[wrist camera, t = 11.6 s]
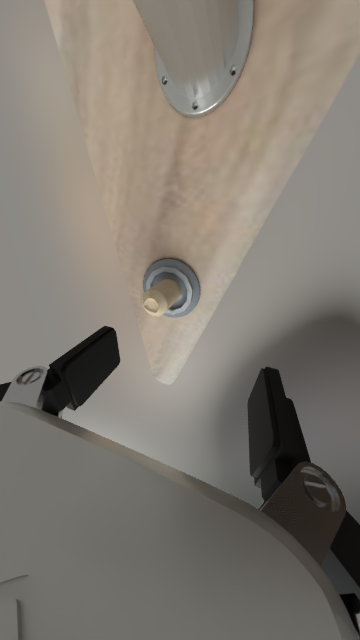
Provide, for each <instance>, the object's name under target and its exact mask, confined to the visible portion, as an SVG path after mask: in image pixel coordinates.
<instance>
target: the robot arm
mask: <svg viewBox="0 0 360 640" xmlns="http://www.w3.org/2000/svg"><path fill="white" fill-rule="evenodd" d="M133 1H134V3H135V6H136V8H137V10H138V12H139V14H140V16H141V18H142V20H143V22H144V25H145V27H146V29H147V31H148V33H149V35H150V37H151V39H152V41H153V44H154V46H155V62H156V69H157V75H158V79H159V82H160V86H161V89H162V91H163V93H164V95H165V97H166V98H167V100H168V102H169V103H170V105H171V106H172V107H173V108H174V109H175V110H176V111H177V112H179V113H180V114H182V115H184V116H187V117H201V116H204V115H207V114H208V113H210V112H212V111H214V110H215V109H216V108H217V107H218V106H219V105H221V104H222V103H223V101H224V100H225V99H226V98H227V97H228V95H229V94H230V93H231V91H232V89H233V88H234V86H235V85H236V83H237V81H238V79H239V77H240V74H241V72H242V70H243V67H244V64H245V61H246V58H247V55H248V51H249V47H250V42H251V37H252V27H253V8H254V4H253V0H133ZM233 73H235V75H233V76H232V74H233ZM196 107H198V108H197V109H196V110H195V108H196ZM119 363H120V356H119V349H118V343H117V336H116V331H115V330H114V328H111V327H108V326H104V327H102V328H101V329H99V330H98V331H97V332H95V333H94V334H92V335H91V336H89V337H88V338H87V339H85V340H84V341H82V342H81V343H80V344H78V345H77V346H75V347H74V348H72V349H71V350H70V351H68V352H67V353H65V354H64V355H62V356H61V357H60V358H58V359H57V360H55V361H54V362H53V363H51V364H50V365H49V366H50V369H48V370H47V369H46V368H45V367H43V366H36V367H32V368H29V369H26V370H24V371H22V372H21V373H19V374H18V375H17V376H16V377H15V378H14V379H13V381H12V382H9V383H5V384H1V385H0V640H360V525H359V524H358V523H357V521H356V520H355V519H354V518H353V517H352V516H351V515H350V514H349V513H348V512H347V510H346V502H345V499H344V496H343V494H342V492H341V490H340V488H339V486H338V485H337V483H336V482H335V481H334V480H333V479H332V478H331V476H330V475H329V474H328V473H327V472H326V471H324V470H323V469H322V468H321V467H319V466H317V465H315V464H314V463H311V461H310V458H309V454H308V451H307V447H306V444H305V441H304V437H303V434H302V430H301V427H300V424H299V420H298V417H297V414H296V410H295V407H294V404H293V401H292V400H291V399H289V398H286V396H285V392H284V389H283V385H282V381H281V377H280V374H279V370H277V369H273V368H270V367H266V368H265V369H261V371H260V373H259V375H258V378H257V380H256V383H255V385H254V387H253V390H252V392H251V395H250V397H249V400H248V429H249V456H250V474H251V476H252V477H254V480H255V481H254V482H255V486H257V487H259V488H261V489H262V497H263V499H264V502H263V503H262V504H261V506H260V507H259V508H258V509H257V508H255V507H253V506H252V505H250V504H248V503H246V502H245V501H243V500H241V499H239V498H237V497H235V496H233V495H231V494H229V493H227V492H225V491H223V490H221V489H218V488H216V487H214V486H212V485H210V484H208V483H206V482H203V481H201V480H199V479H197V478H195V477H193V476H191V475H188V474H186V473H184V472H182V471H179V470H177V469H175V468H173V467H170V466H168V465H166V464H164V463H161V462H159V461H157V460H155V459H152V458H150V457H148V456H146V455H144V454H141V453H139V452H137V451H134V450H132V449H130V448H128V447H125V446H123V445H121V444H119V443H116V442H114V441H112V440H110V439H107V438H105V437H102V436H100V435H98V434H96V433H94V432H91V431H89V430H87V429H84V428H82V427H80V426H77V425H75V424H73V423H71V422H68V421H66V420H63V419H62V415H63V409H64V408H65V407H66V406H67V407H68V408H70V409H72V410H74V411H75V410H76V409H77V408H78V407H79V406H81V405H82V404H83V403H84V402H85V401H86V400H87V399H88V398H89V397H90V396H91V395H92V393H93V392H94V391H95V390H96V389H97V388H98V387H99V386H100V384H102V383H103V381H104V380H105V379H106V378H107V377H108V376H109V375H110V374H111V373H112V371H113V370H114V369H115V368H116V367H117V366H118V365H119Z"/></svg>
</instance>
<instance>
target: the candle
mask: <svg viewBox="0 0 360 640" xmlns="http://www.w3.org/2000/svg"><path fill="white" fill-rule="evenodd" d="M180 294H181V288H180V285H179V284H178V283H177V282H176V281H175V280H173V279H170V278H168V279H164V280H162V281H161V282H159V283H157V284H156V285H154V286H153V287H151V288H150V289H148V290H147V291H145V292H144V293H143V295H142V298H141V302H142V306H143V308H144V309H145V310H146V311H147V312H148V313H149V314H151V315H153V316H161V315H163V314H164V313H165V312H166V311H167V310H168V309H169V308H170V307H171V306H172V305H173V304H174V302H175V301H176V300H177V299H178V298H179V296H180Z"/></svg>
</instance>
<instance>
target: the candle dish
mask: <svg viewBox="0 0 360 640" xmlns="http://www.w3.org/2000/svg"><path fill="white" fill-rule="evenodd" d="M168 278H170V279H173V280H175V281H176V282H177V283H178V284H179V285H180V288H181V294H180V296H179V298H178V299H177V300H176V301H175V302H174V304H173V305H172V306H171V307H170V308H169V309H168V310H167V311H166V312H165V313H164V314H163V315H165V316H168V317H181V316H184V315H187V314H188V313H190V312H191V311H192V310H193V309H194V308H195V306H196V304H197V303H198V300H199V296H200V286H199V282H198V279H197V277H196V275H195V273H194V272H193V271H192V270H191V268H190V267H188V266H187V265H186V264H184V263H183V262H181V261H178V260H175V259H163V260H160V261H157V262H155V263H154V264H152V265H151V266H150V267H149V269H148V270H147V272H146V274H145V277H144V281H143V288H144V292H145V291H147V290H148V289H150V288H151V287H153V286H154V285H156V284H157V283H159V282H161V281H162V280H164V279H168Z"/></svg>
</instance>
